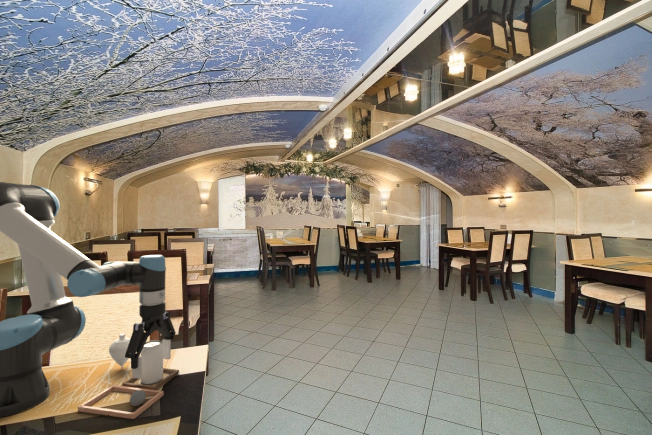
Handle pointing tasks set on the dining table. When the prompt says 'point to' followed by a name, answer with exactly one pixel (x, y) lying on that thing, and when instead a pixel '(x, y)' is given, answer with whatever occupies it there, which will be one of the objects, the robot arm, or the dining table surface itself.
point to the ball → (137, 397)
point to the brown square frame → (129, 384)
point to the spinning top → (119, 349)
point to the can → (152, 362)
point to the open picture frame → (117, 413)
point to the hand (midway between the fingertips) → (152, 367)
